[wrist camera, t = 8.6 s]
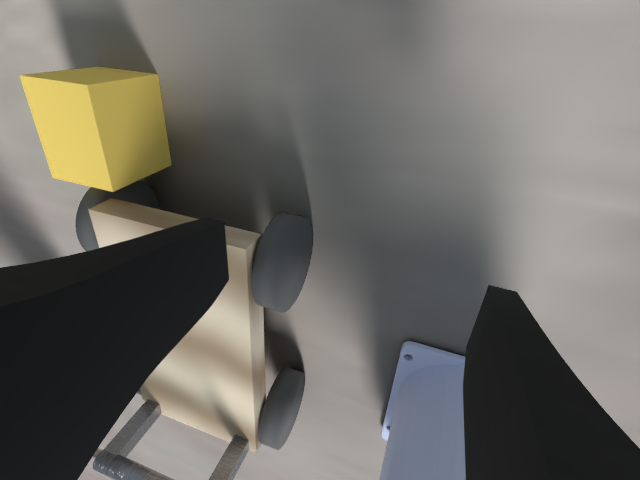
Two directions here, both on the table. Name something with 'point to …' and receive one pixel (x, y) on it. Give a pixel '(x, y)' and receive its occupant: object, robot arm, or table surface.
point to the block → (99, 124)
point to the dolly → (211, 335)
